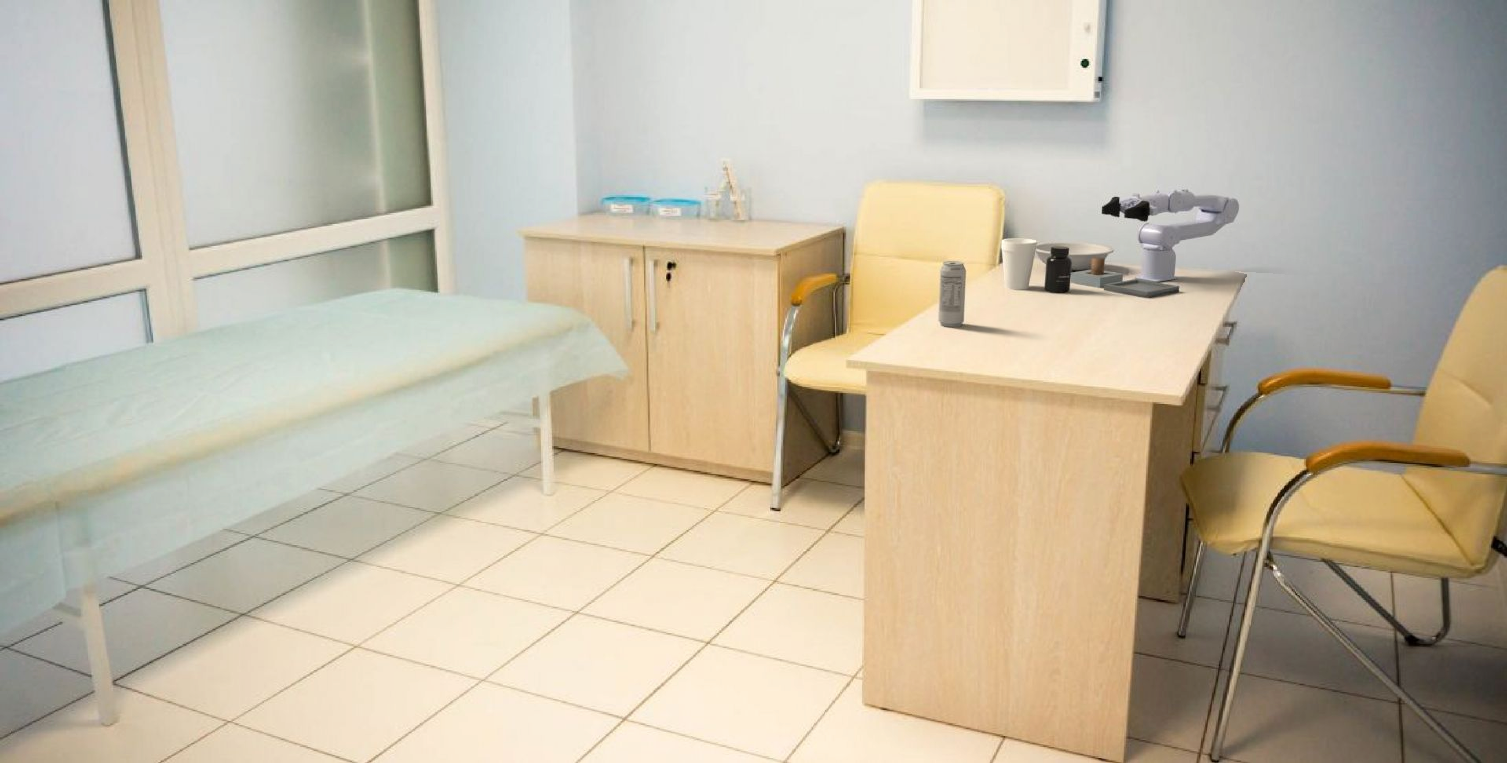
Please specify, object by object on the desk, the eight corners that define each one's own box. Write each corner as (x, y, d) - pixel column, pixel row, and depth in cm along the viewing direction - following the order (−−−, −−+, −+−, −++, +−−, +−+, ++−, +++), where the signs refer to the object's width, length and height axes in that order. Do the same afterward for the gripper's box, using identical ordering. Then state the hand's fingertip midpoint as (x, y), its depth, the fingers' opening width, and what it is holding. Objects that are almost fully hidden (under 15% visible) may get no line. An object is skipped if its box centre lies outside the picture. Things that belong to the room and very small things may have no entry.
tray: (1135, 284, 348) (1136, 278, 348) (1178, 292, 337) (1179, 286, 337) (1103, 290, 340) (1104, 284, 340) (1146, 298, 329) (1147, 292, 329)
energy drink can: (967, 323, 299) (970, 262, 295) (958, 328, 294) (960, 265, 290) (943, 321, 302) (946, 259, 298) (934, 325, 297) (936, 263, 293)
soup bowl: (1013, 266, 377) (1014, 244, 376) (1076, 260, 387) (1078, 239, 386) (1064, 279, 356) (1065, 256, 355) (1129, 273, 366) (1131, 250, 365)
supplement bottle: (1063, 294, 334) (1066, 250, 331) (1040, 291, 338) (1042, 247, 335) (1074, 290, 340) (1076, 246, 337) (1050, 287, 344) (1053, 244, 341)
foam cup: (1032, 284, 348) (1034, 238, 345) (1036, 291, 339) (1038, 243, 336) (997, 284, 349) (1000, 238, 345) (1000, 290, 340) (1003, 243, 337)
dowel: (1095, 281, 353) (1097, 257, 351) (1105, 283, 350) (1107, 258, 348) (1087, 282, 351) (1088, 258, 349) (1097, 284, 348) (1099, 260, 346)
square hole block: (1093, 278, 357) (1094, 269, 356) (1122, 283, 349) (1123, 273, 348) (1070, 282, 351) (1071, 272, 350) (1099, 287, 343) (1100, 277, 343)
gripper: (1125, 188, 351) (1093, 194, 344) (1168, 194, 340) (1136, 200, 333) (1124, 213, 354) (1092, 219, 346) (1167, 220, 342) (1134, 226, 335)
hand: (1114, 212), depth 340 cm, fingers open, 7 cm apart
